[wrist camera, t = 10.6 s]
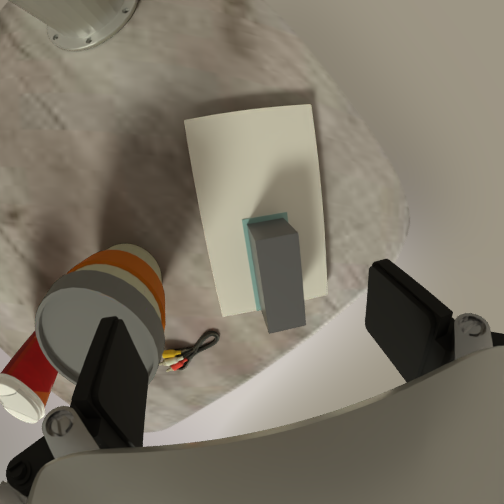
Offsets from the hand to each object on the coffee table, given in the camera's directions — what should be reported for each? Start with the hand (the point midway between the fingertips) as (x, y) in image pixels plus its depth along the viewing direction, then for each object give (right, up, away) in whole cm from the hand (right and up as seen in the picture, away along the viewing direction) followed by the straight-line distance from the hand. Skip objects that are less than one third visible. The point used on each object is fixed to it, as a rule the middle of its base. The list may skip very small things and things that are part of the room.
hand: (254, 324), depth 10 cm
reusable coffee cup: (-16, 0, +25) cm, 30 cm away
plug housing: (+2, +1, +25) cm, 25 cm away
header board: (+1, +7, +25) cm, 26 cm away
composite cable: (-9, -12, +31) cm, 34 cm away
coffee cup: (-31, -11, +27) cm, 43 cm away
